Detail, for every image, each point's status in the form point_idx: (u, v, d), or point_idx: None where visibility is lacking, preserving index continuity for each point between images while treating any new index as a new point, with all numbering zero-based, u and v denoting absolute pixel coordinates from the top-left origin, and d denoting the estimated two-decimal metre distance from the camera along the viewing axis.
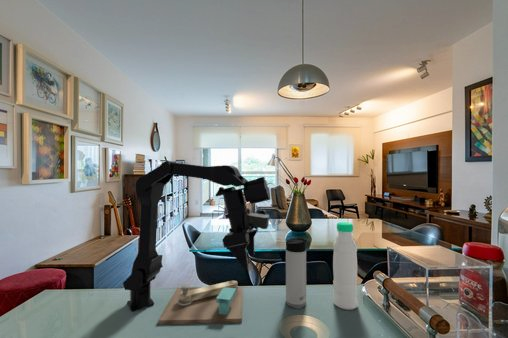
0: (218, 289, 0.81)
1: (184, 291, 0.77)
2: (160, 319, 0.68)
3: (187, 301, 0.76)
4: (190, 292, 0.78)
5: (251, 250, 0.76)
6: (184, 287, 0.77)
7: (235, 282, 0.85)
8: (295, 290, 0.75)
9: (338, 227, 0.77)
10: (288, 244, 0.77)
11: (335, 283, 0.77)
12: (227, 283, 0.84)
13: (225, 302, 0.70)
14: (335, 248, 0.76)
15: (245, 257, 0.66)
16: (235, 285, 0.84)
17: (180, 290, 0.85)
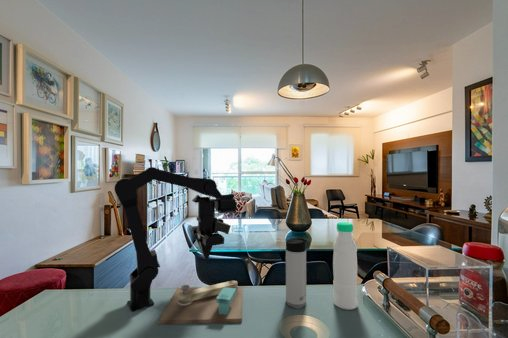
0: (218, 289, 0.81)
1: (184, 291, 0.77)
2: (160, 319, 0.68)
3: (187, 301, 0.76)
4: (190, 292, 0.78)
5: None
6: (184, 287, 0.77)
7: (235, 282, 0.85)
8: (295, 290, 0.75)
9: (338, 227, 0.77)
10: (288, 244, 0.77)
11: (335, 283, 0.77)
12: (227, 283, 0.84)
13: (225, 302, 0.70)
14: (335, 248, 0.76)
15: (209, 251, 0.87)
16: (235, 285, 0.84)
17: (180, 290, 0.85)
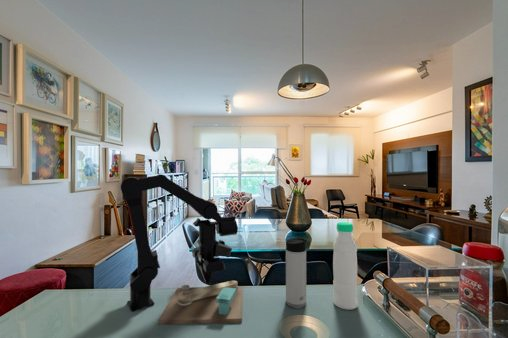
0: (218, 289, 0.81)
1: (184, 291, 0.77)
2: (160, 319, 0.68)
3: (187, 301, 0.76)
4: (190, 292, 0.78)
5: None
6: (184, 287, 0.77)
7: (235, 282, 0.85)
8: (295, 290, 0.75)
9: (338, 227, 0.77)
10: (288, 244, 0.77)
11: (335, 283, 0.77)
12: (227, 283, 0.84)
13: (225, 302, 0.70)
14: (335, 248, 0.76)
15: (210, 275, 0.86)
16: (235, 285, 0.84)
17: (180, 290, 0.85)
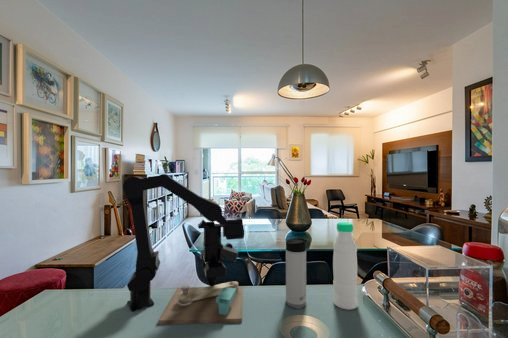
0: (218, 290, 0.81)
1: (184, 291, 0.77)
2: (160, 319, 0.68)
3: (187, 301, 0.76)
4: (190, 292, 0.78)
5: None
6: (184, 287, 0.77)
7: (236, 283, 0.84)
8: (295, 290, 0.75)
9: (338, 227, 0.77)
10: (288, 244, 0.77)
11: (335, 283, 0.77)
12: (228, 284, 0.84)
13: (225, 302, 0.70)
14: (335, 248, 0.76)
15: (215, 279, 0.83)
16: (236, 286, 0.83)
17: (180, 290, 0.85)
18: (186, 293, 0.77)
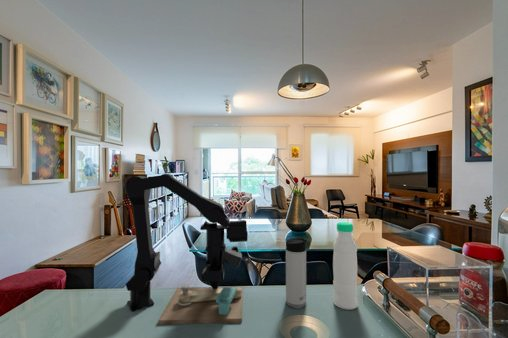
0: None
1: (183, 291, 0.77)
2: (160, 319, 0.68)
3: (185, 301, 0.75)
4: (190, 293, 0.77)
5: None
6: (184, 287, 0.77)
7: (239, 289, 0.80)
8: (295, 290, 0.75)
9: (338, 227, 0.77)
10: (288, 244, 0.77)
11: (335, 283, 0.77)
12: None
13: (225, 302, 0.70)
14: (335, 248, 0.76)
15: (217, 283, 0.80)
16: (238, 293, 0.79)
17: (180, 290, 0.85)
18: (185, 293, 0.77)
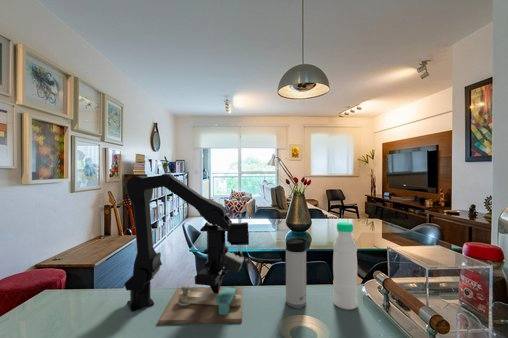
0: None
1: (183, 291, 0.77)
2: (160, 319, 0.68)
3: (183, 302, 0.75)
4: (190, 294, 0.77)
5: None
6: (183, 287, 0.77)
7: (238, 297, 0.75)
8: (295, 290, 0.75)
9: (338, 227, 0.77)
10: (288, 244, 0.77)
11: (335, 283, 0.77)
12: None
13: (225, 302, 0.70)
14: (335, 248, 0.76)
15: (217, 287, 0.77)
16: (236, 301, 0.74)
17: (180, 290, 0.85)
18: (184, 293, 0.77)
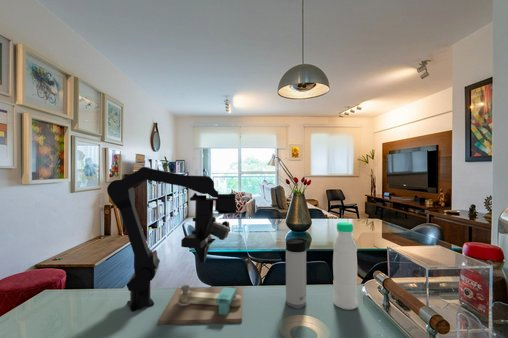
0: None
1: (183, 291, 0.77)
2: (160, 319, 0.68)
3: (183, 302, 0.75)
4: (190, 294, 0.77)
5: None
6: (183, 287, 0.77)
7: (238, 298, 0.75)
8: (295, 290, 0.75)
9: (338, 227, 0.77)
10: (288, 244, 0.77)
11: (335, 283, 0.77)
12: None
13: (225, 302, 0.70)
14: (335, 248, 0.76)
15: (203, 254, 0.81)
16: (236, 301, 0.74)
17: (180, 290, 0.85)
18: (184, 293, 0.77)
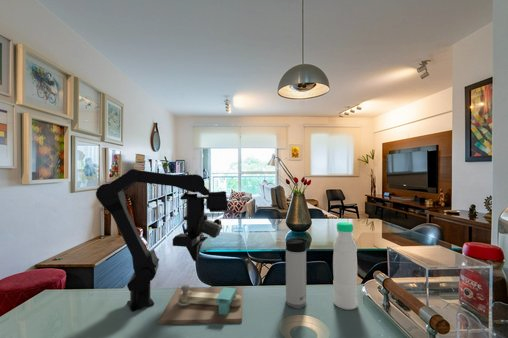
0: None
1: (183, 291, 0.77)
2: (160, 319, 0.68)
3: (183, 302, 0.75)
4: (190, 294, 0.77)
5: None
6: (183, 287, 0.77)
7: (238, 298, 0.75)
8: (295, 290, 0.75)
9: (338, 227, 0.77)
10: (288, 244, 0.77)
11: (335, 283, 0.77)
12: None
13: (225, 302, 0.70)
14: (335, 248, 0.76)
15: (196, 253, 0.81)
16: (236, 301, 0.74)
17: (180, 290, 0.85)
18: (184, 293, 0.77)
